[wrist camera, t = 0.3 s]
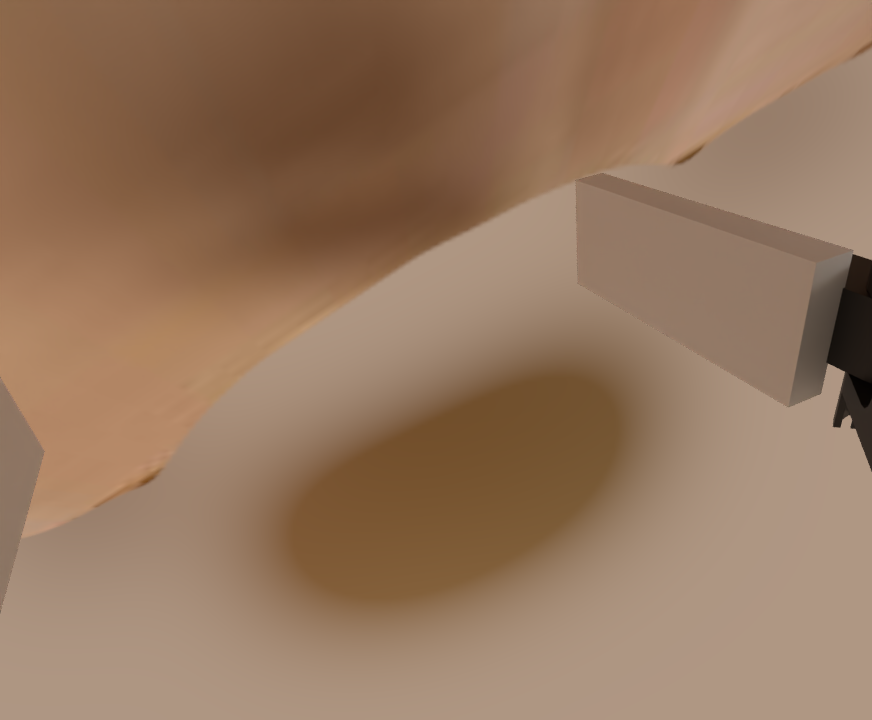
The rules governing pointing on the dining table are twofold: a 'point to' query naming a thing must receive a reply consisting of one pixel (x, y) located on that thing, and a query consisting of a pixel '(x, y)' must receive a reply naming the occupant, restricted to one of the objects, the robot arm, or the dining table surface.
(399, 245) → the dining table surface
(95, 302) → the dining table surface
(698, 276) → the robot arm
